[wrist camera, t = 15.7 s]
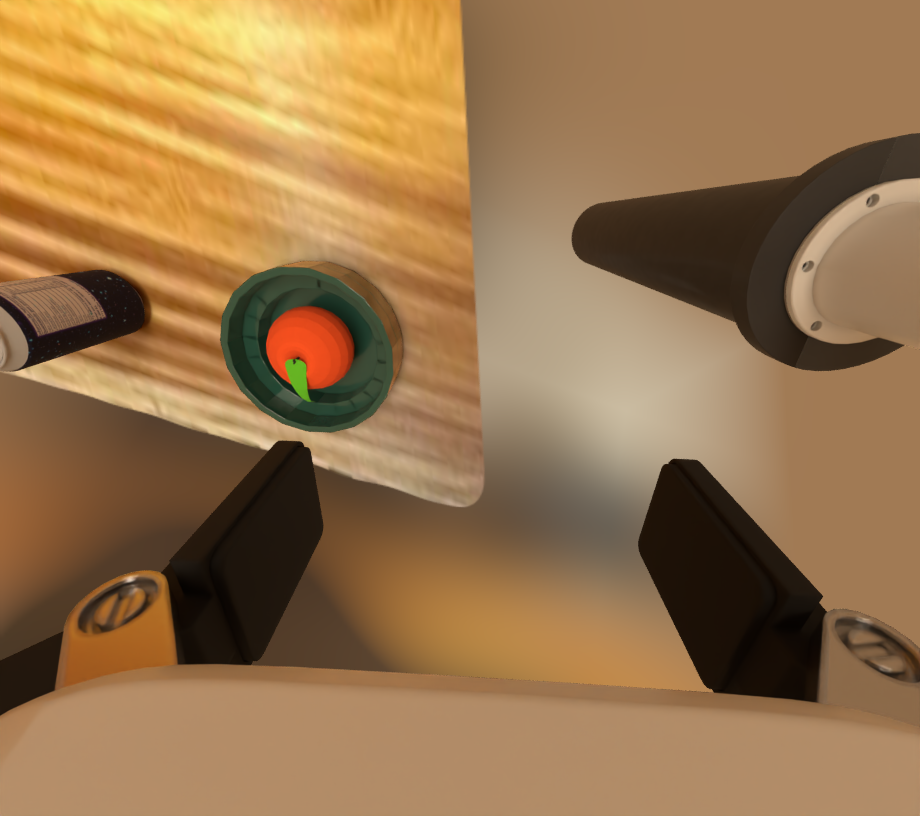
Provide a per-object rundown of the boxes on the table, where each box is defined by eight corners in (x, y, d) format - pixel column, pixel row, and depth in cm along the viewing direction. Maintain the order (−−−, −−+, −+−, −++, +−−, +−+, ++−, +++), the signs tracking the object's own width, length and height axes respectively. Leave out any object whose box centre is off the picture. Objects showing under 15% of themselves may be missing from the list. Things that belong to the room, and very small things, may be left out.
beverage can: (76, 269, 34) (-109, 292, 23) (137, 267, 34) (-22, 290, 23) (105, 331, 36) (-51, 378, 26) (161, 330, 36) (28, 378, 25)
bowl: (400, 263, 33) (388, 270, 28) (406, 411, 39) (396, 435, 34) (237, 257, 33) (199, 263, 28) (269, 405, 39) (242, 428, 35)
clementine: (367, 383, 37) (344, 417, 31) (297, 380, 37) (260, 413, 31) (360, 300, 34) (333, 319, 27) (283, 296, 34) (237, 314, 27)
